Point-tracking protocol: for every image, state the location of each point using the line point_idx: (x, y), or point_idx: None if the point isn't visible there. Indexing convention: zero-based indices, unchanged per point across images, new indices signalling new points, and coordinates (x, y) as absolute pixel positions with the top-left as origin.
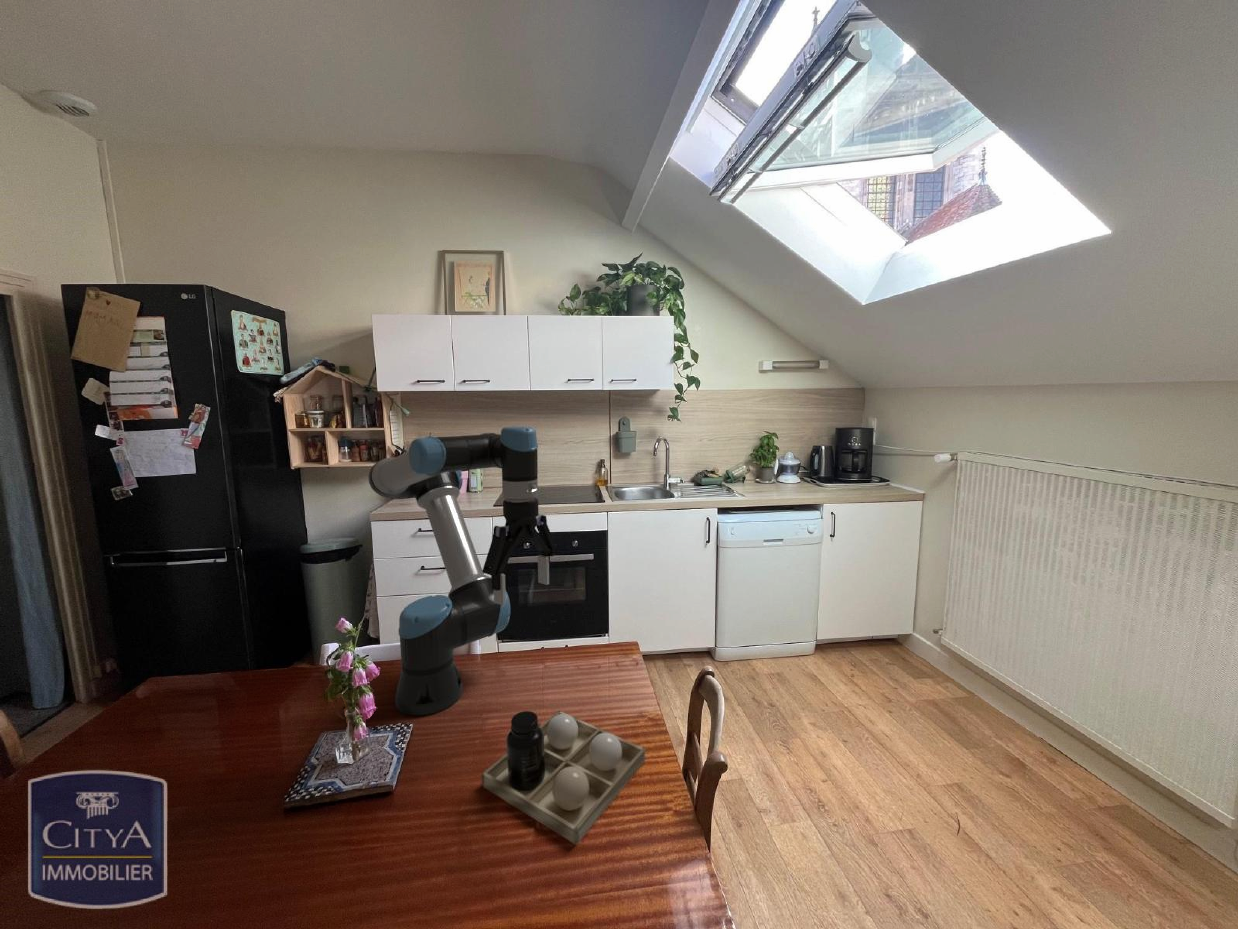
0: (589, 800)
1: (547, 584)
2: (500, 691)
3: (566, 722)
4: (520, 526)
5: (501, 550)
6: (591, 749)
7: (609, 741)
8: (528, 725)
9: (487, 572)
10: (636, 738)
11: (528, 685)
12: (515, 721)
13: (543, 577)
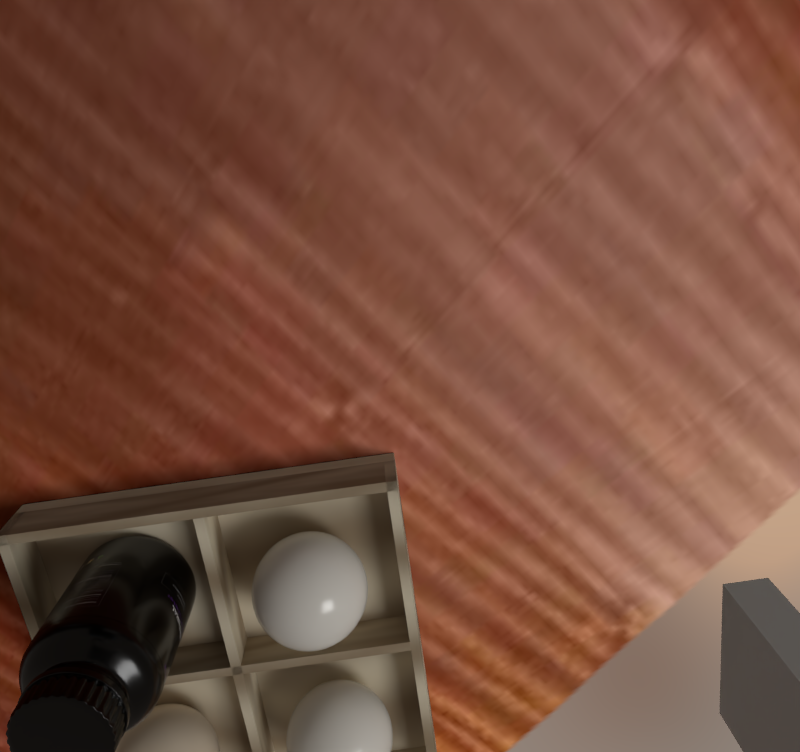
0: (223, 741)
1: (729, 716)
2: (377, 74)
3: (302, 647)
4: None
5: None
6: (293, 742)
7: None
8: None
9: None
10: (511, 663)
11: (498, 143)
12: (23, 728)
13: (771, 738)
